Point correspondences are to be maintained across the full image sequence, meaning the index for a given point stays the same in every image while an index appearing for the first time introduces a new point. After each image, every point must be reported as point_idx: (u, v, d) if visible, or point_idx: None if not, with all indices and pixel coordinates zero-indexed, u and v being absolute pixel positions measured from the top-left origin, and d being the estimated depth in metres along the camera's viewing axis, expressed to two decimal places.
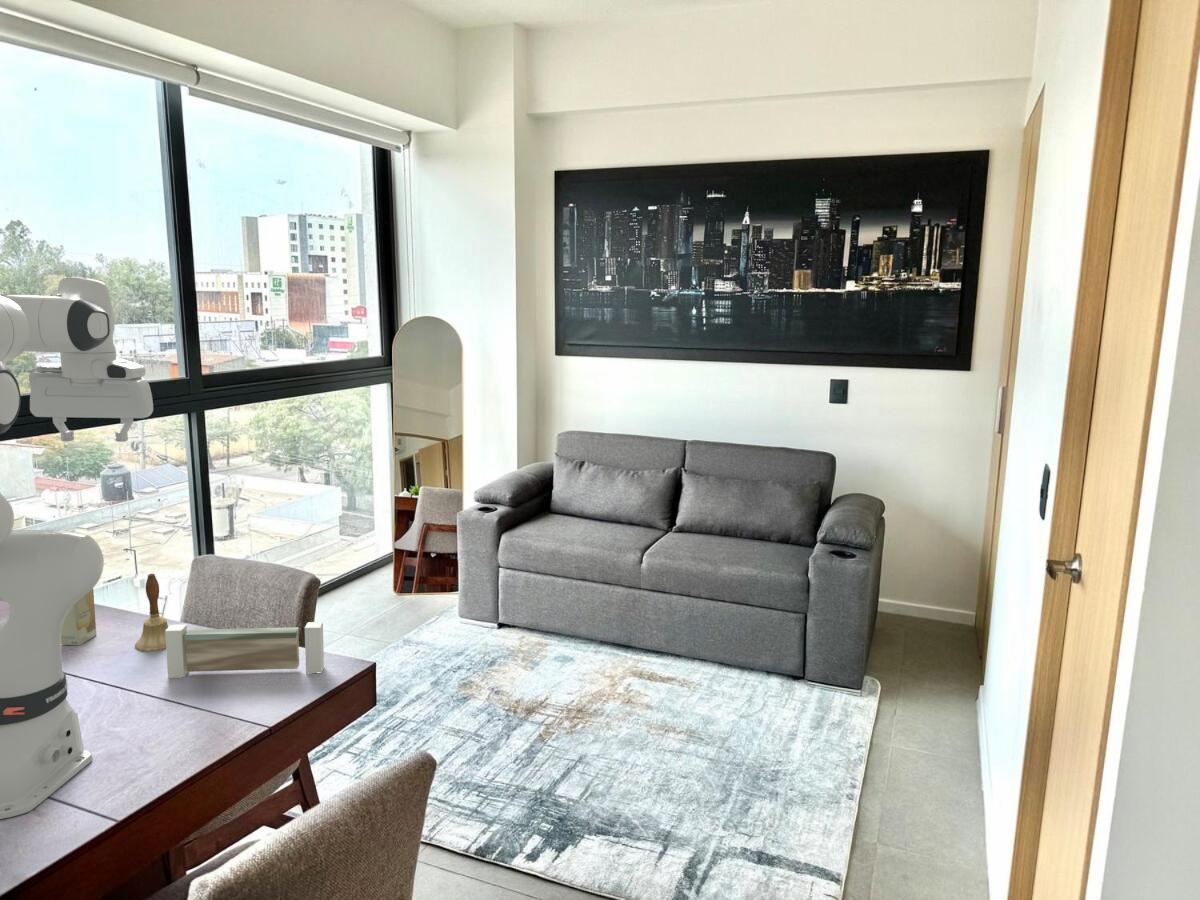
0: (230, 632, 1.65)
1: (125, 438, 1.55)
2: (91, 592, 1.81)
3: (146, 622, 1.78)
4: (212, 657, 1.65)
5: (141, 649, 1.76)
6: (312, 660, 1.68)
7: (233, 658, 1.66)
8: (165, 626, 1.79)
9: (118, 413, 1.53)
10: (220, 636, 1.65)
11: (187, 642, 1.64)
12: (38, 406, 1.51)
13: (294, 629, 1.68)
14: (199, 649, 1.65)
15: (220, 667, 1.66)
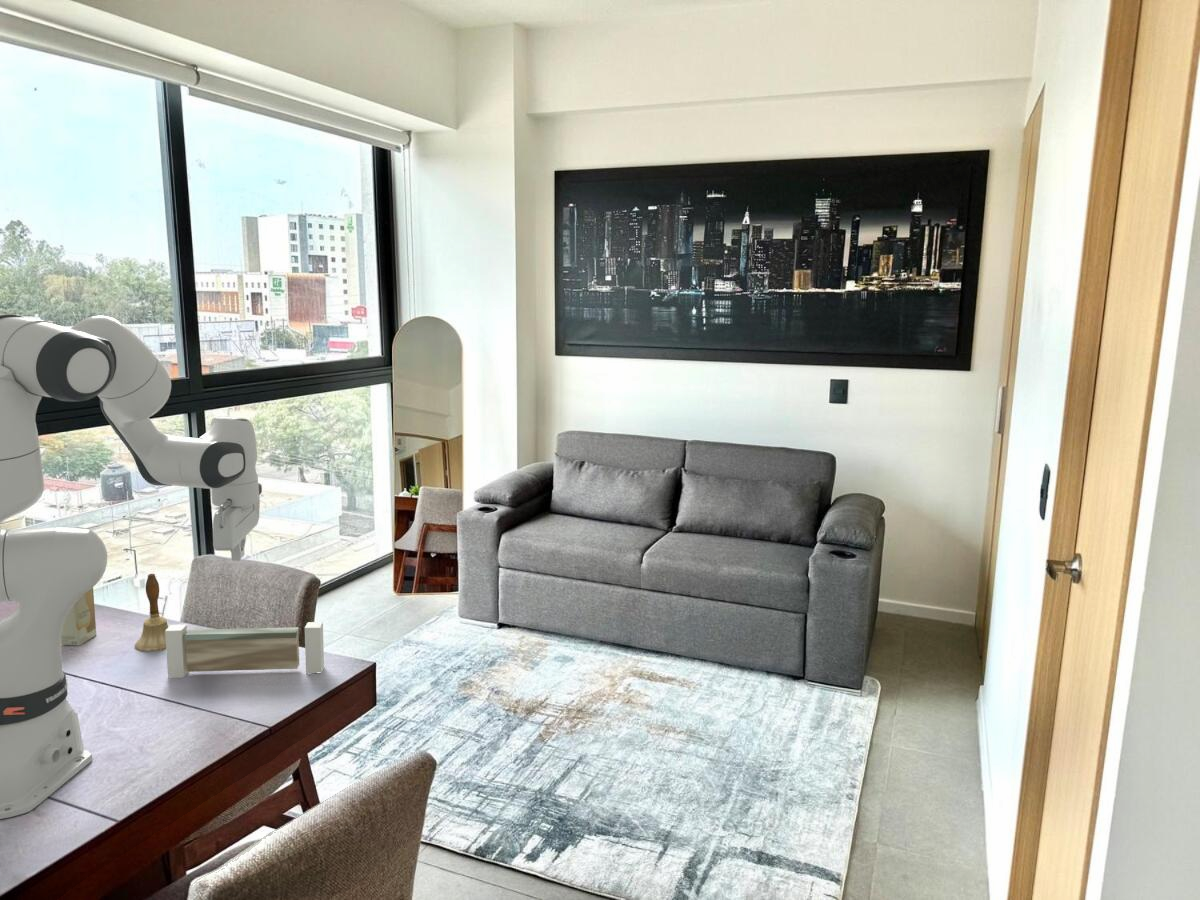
0: (230, 632, 1.65)
1: None
2: (91, 592, 1.81)
3: (146, 622, 1.78)
4: (212, 657, 1.65)
5: (141, 649, 1.76)
6: (312, 660, 1.68)
7: (233, 658, 1.66)
8: (165, 626, 1.79)
9: (252, 525, 1.76)
10: (220, 636, 1.65)
11: (187, 642, 1.64)
12: (234, 539, 1.63)
13: (294, 629, 1.68)
14: (199, 649, 1.65)
15: (220, 667, 1.66)
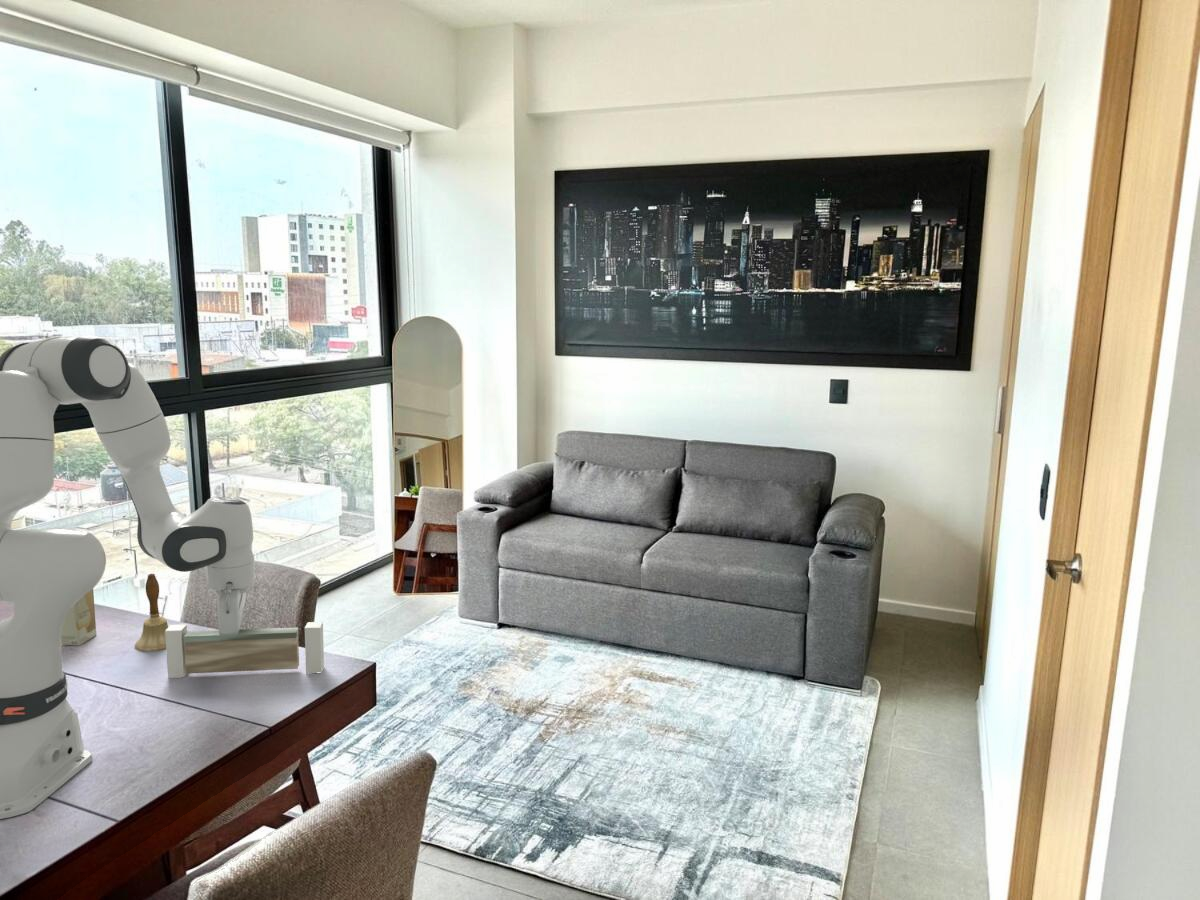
0: None
1: None
2: (91, 592, 1.81)
3: (146, 622, 1.78)
4: (211, 658, 1.65)
5: (141, 649, 1.76)
6: (312, 660, 1.68)
7: (232, 659, 1.66)
8: (165, 626, 1.79)
9: (244, 604, 1.74)
10: (219, 637, 1.64)
11: (186, 644, 1.63)
12: (239, 623, 1.61)
13: (294, 629, 1.68)
14: (198, 650, 1.64)
15: (219, 668, 1.65)
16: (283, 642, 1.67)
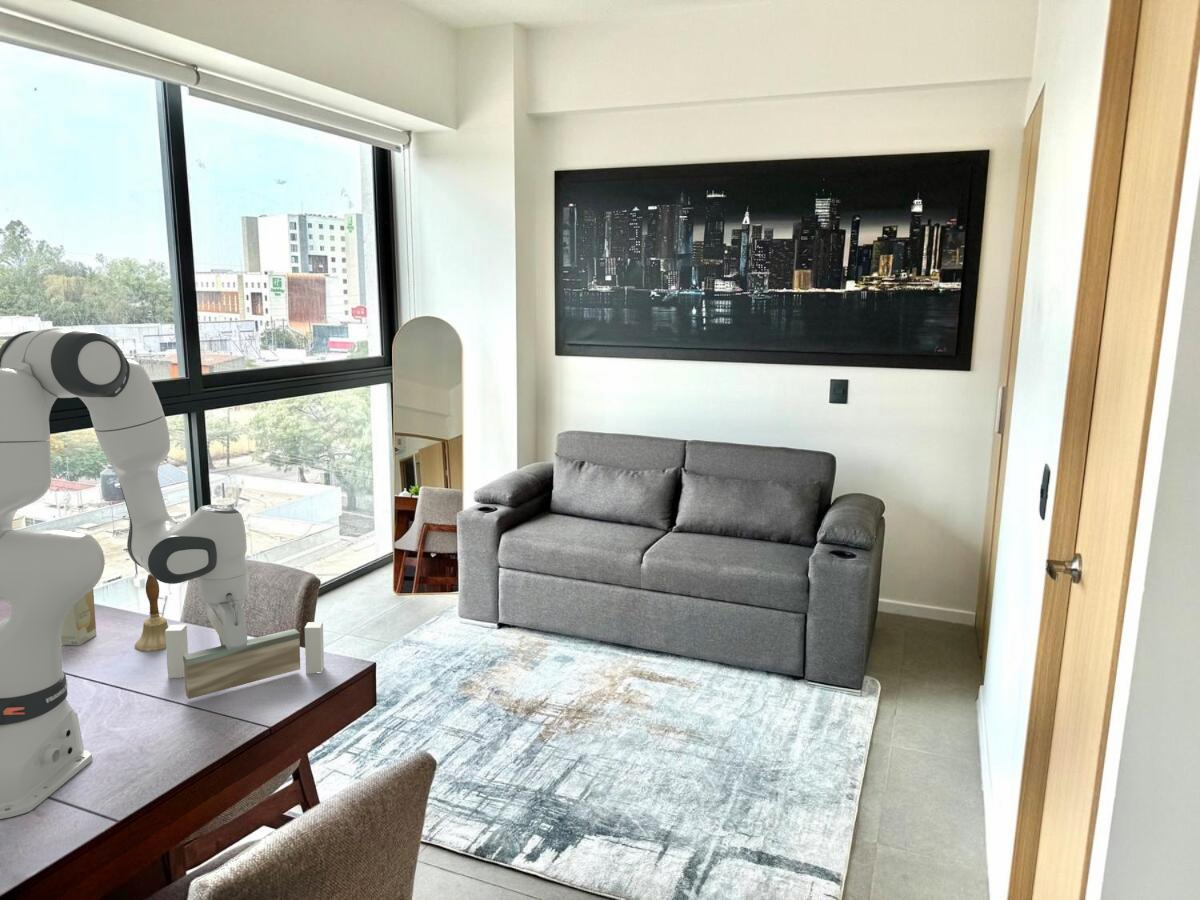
0: None
1: None
2: (91, 592, 1.81)
3: (146, 622, 1.78)
4: (215, 677, 1.57)
5: (141, 649, 1.76)
6: (312, 660, 1.68)
7: (237, 673, 1.60)
8: (165, 626, 1.79)
9: None
10: (225, 653, 1.57)
11: (189, 667, 1.53)
12: None
13: (294, 631, 1.67)
14: (202, 671, 1.55)
15: (224, 686, 1.58)
16: (287, 645, 1.65)
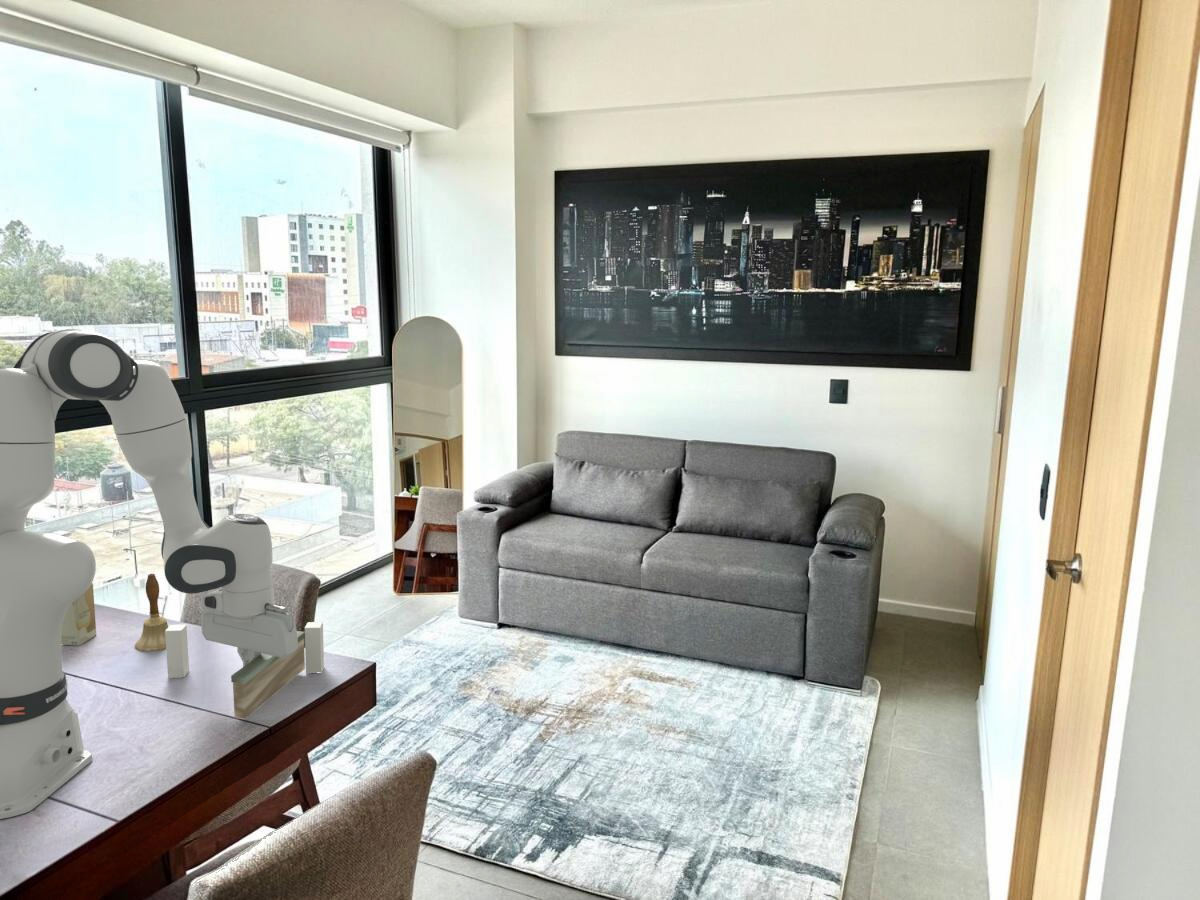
0: (267, 657, 1.55)
1: None
2: (91, 592, 1.81)
3: (146, 622, 1.78)
4: (259, 691, 1.52)
5: (141, 649, 1.76)
6: (312, 660, 1.68)
7: (271, 683, 1.56)
8: (165, 626, 1.79)
9: None
10: (265, 664, 1.53)
11: (244, 685, 1.47)
12: None
13: None
14: (251, 687, 1.50)
15: (264, 698, 1.54)
16: None
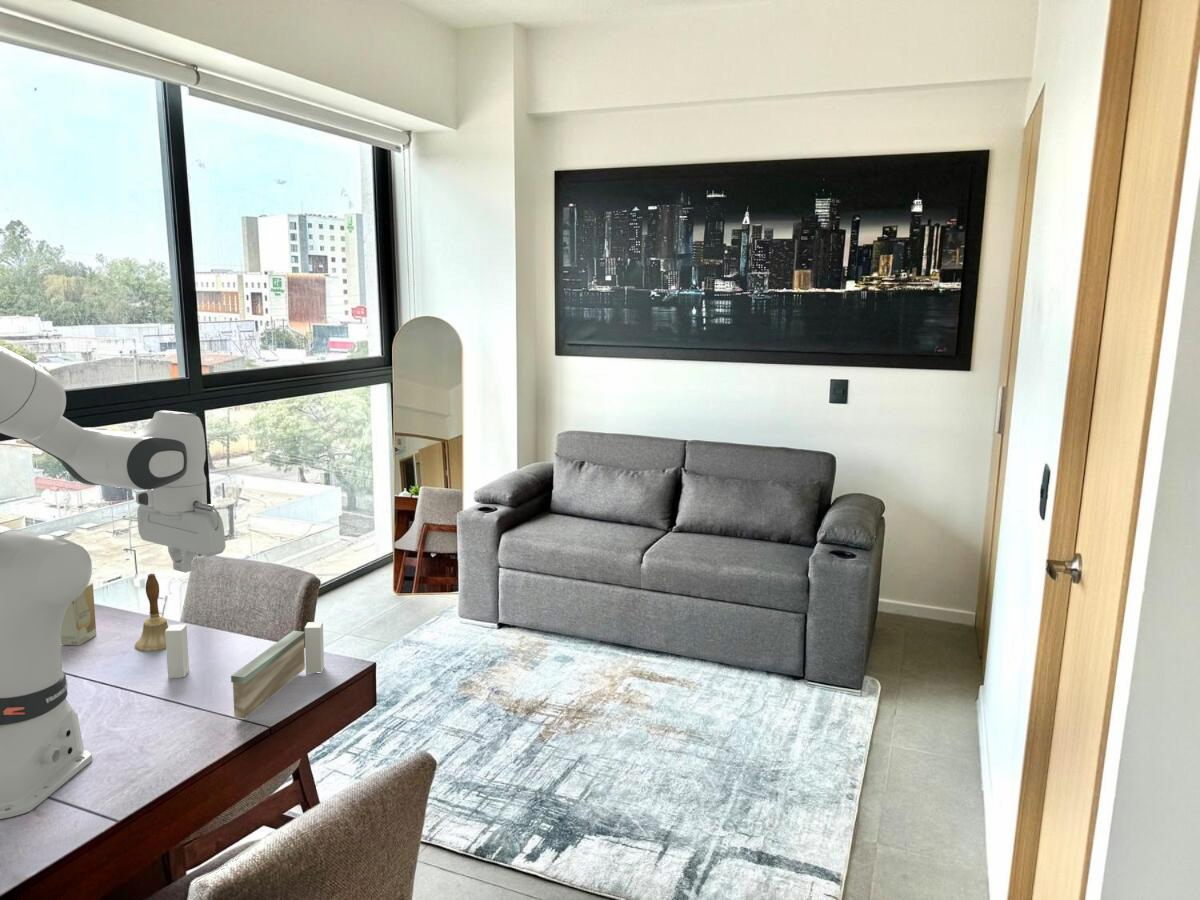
0: (267, 657, 1.55)
1: None
2: (91, 592, 1.81)
3: (146, 622, 1.78)
4: (259, 691, 1.52)
5: (141, 649, 1.76)
6: (312, 660, 1.68)
7: (271, 683, 1.56)
8: (165, 626, 1.79)
9: None
10: (265, 664, 1.53)
11: (244, 685, 1.47)
12: None
13: (296, 632, 1.67)
14: (251, 687, 1.50)
15: (264, 698, 1.54)
16: (297, 646, 1.65)
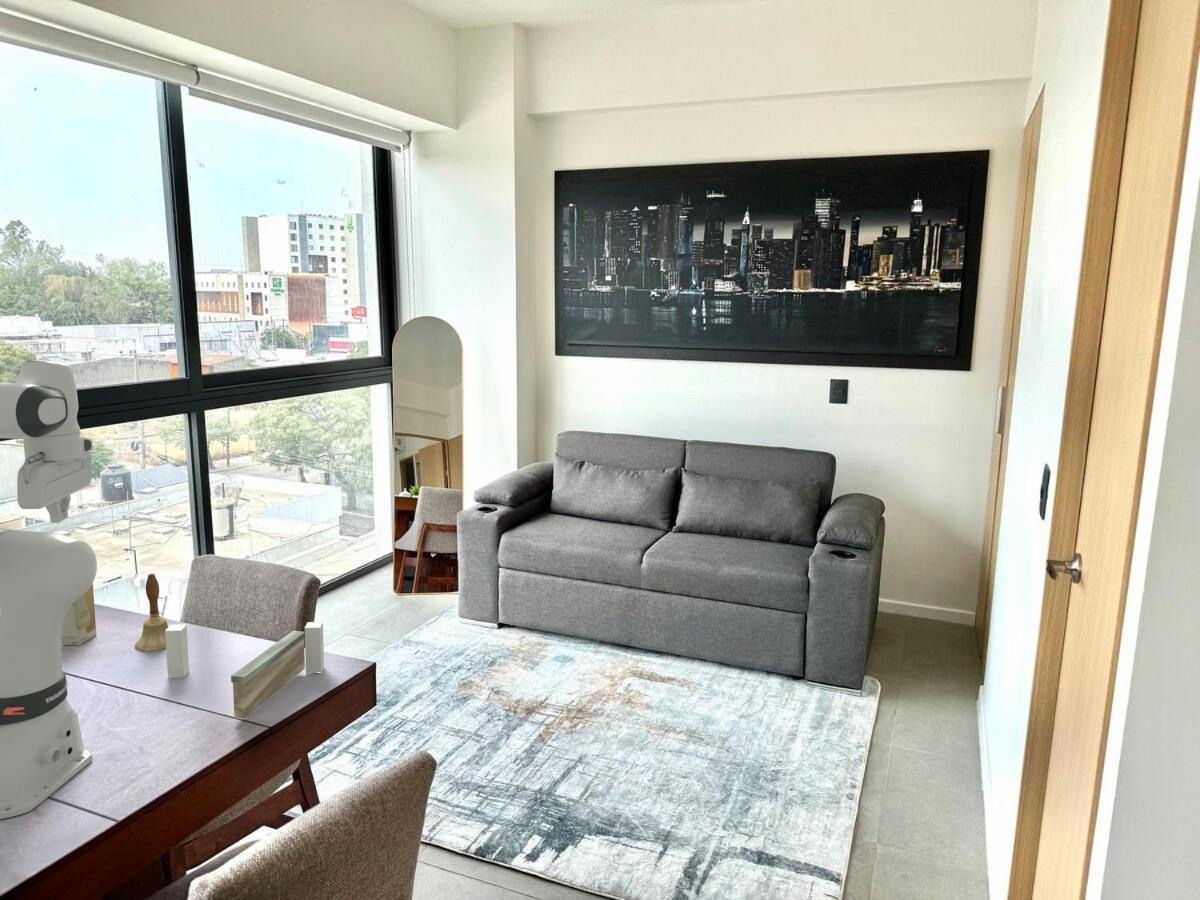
0: (267, 657, 1.55)
1: None
2: (91, 592, 1.81)
3: (146, 622, 1.78)
4: (259, 691, 1.52)
5: (141, 649, 1.76)
6: (312, 660, 1.68)
7: (271, 683, 1.56)
8: (165, 626, 1.79)
9: (80, 485, 1.58)
10: (265, 664, 1.53)
11: (244, 685, 1.47)
12: (43, 496, 1.45)
13: (296, 632, 1.67)
14: (251, 687, 1.50)
15: (264, 698, 1.54)
16: (297, 646, 1.65)
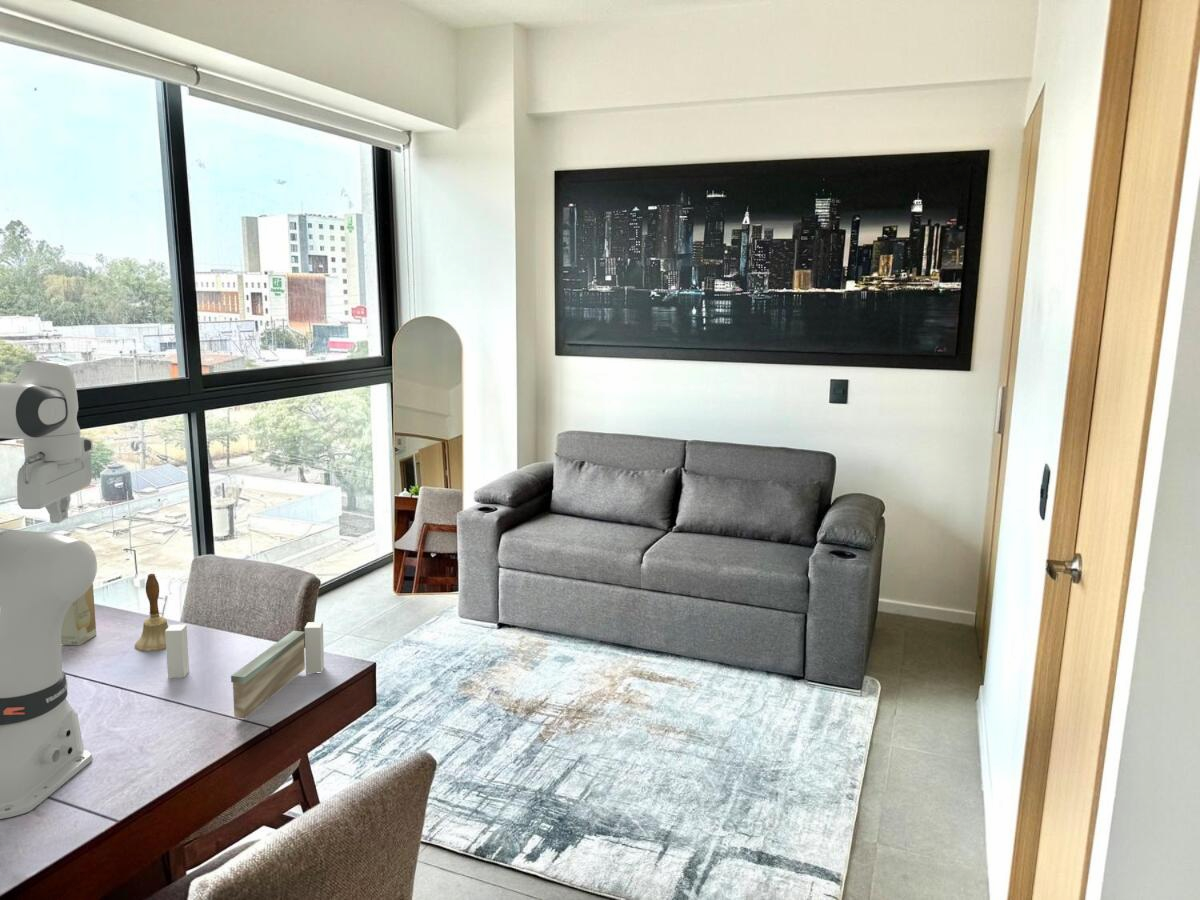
0: (267, 657, 1.55)
1: None
2: (91, 592, 1.81)
3: (146, 622, 1.78)
4: (259, 691, 1.52)
5: (141, 649, 1.76)
6: (312, 660, 1.68)
7: (271, 683, 1.56)
8: (165, 626, 1.79)
9: (80, 485, 1.58)
10: (265, 664, 1.53)
11: (244, 685, 1.47)
12: (43, 497, 1.45)
13: (296, 632, 1.67)
14: (251, 687, 1.50)
15: (264, 698, 1.54)
16: (297, 646, 1.65)
